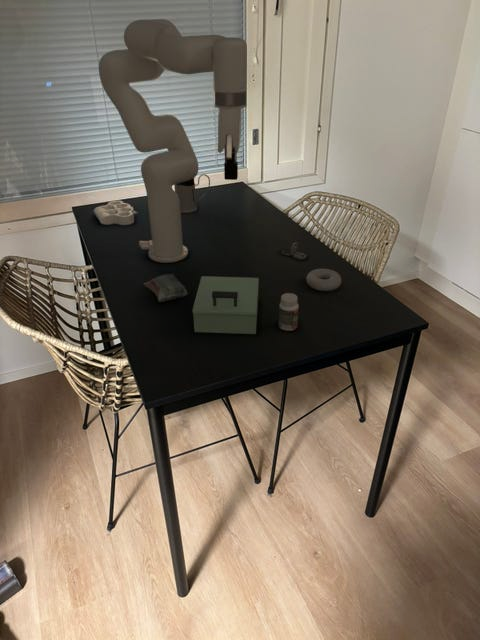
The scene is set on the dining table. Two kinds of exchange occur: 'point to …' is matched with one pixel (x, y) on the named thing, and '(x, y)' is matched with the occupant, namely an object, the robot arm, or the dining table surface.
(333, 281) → the donut
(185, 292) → the packaged food
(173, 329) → the dining table surface
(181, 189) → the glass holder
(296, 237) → the dining table surface
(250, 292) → the lunchbox lid
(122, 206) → the beige paint palette tray
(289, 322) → the pill bottle
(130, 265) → the dining table surface
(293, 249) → the strap clip
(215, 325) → the box
